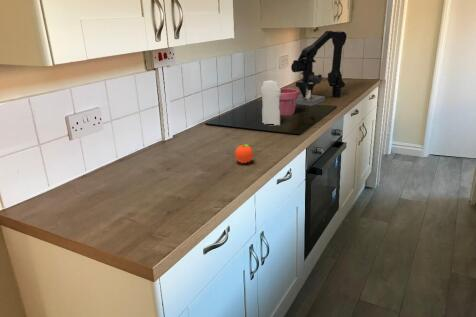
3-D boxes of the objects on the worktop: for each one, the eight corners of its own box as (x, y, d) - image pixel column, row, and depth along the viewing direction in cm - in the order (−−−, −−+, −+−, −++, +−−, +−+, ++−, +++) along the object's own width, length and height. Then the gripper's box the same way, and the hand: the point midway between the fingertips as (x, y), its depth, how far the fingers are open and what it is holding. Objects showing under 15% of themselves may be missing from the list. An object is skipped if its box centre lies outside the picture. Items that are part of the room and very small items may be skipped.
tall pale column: (282, 124, 201) (282, 80, 193) (279, 126, 197) (278, 81, 190) (263, 122, 206) (262, 79, 198) (259, 124, 202) (258, 80, 194)
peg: (305, 100, 248) (306, 89, 245) (311, 101, 245) (311, 90, 243) (302, 102, 245) (302, 90, 242) (308, 102, 243) (308, 91, 240)
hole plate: (302, 97, 256) (302, 93, 255) (325, 100, 246) (325, 96, 245) (289, 102, 244) (289, 98, 243) (312, 105, 235) (312, 101, 234)
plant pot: (286, 109, 230) (286, 86, 225) (304, 113, 219) (304, 90, 214) (267, 113, 222) (267, 90, 217) (284, 118, 211) (284, 94, 207)
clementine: (244, 157, 158) (244, 140, 156) (258, 160, 154) (258, 143, 152) (231, 163, 153) (230, 145, 150) (246, 167, 148) (245, 149, 146)
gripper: (312, 73, 227) (311, 100, 232) (327, 69, 241) (326, 94, 246) (295, 72, 234) (295, 98, 239) (310, 68, 247) (310, 93, 253)
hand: (307, 96), depth 244 cm, fingers open, 7 cm apart
